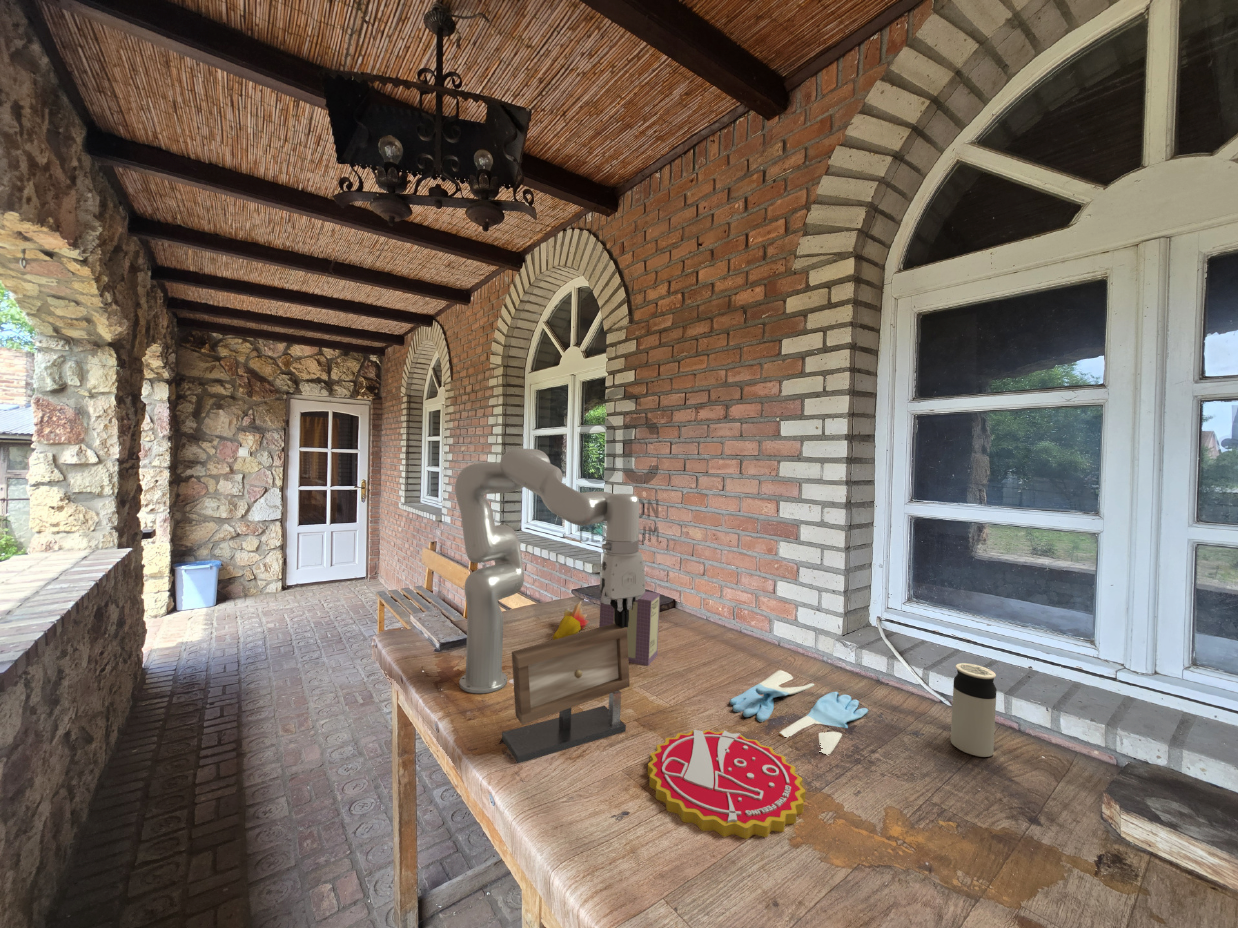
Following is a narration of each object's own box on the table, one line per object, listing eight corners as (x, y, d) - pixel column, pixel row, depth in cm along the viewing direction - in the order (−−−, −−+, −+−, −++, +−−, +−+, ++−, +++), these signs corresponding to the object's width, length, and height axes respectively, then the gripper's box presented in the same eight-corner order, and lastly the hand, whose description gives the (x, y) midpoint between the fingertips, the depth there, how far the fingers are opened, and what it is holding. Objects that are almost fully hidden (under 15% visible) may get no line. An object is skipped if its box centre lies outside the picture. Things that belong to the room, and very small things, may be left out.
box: (657, 655, 161) (659, 593, 161) (648, 665, 153) (650, 600, 152) (609, 645, 167) (611, 586, 167) (598, 655, 159) (600, 592, 159)
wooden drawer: (515, 715, 106) (511, 651, 105) (620, 679, 119) (617, 622, 118) (523, 726, 102) (519, 659, 101) (631, 687, 116) (628, 628, 115)
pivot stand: (501, 738, 111) (504, 666, 111) (604, 711, 124) (606, 647, 124) (517, 763, 102) (520, 685, 102) (625, 731, 116) (628, 662, 116)
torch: (552, 659, 164) (576, 625, 188) (573, 651, 162) (594, 617, 186) (541, 636, 164) (567, 605, 188) (561, 628, 162) (584, 597, 186)
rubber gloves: (875, 708, 133) (876, 684, 133) (827, 760, 109) (829, 730, 109) (777, 674, 152) (778, 653, 151) (718, 712, 128) (719, 686, 128)
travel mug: (980, 761, 109) (985, 679, 109) (943, 742, 116) (947, 665, 116) (1000, 753, 113) (1004, 673, 113) (962, 734, 120) (966, 660, 120)
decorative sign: (658, 719, 117) (793, 739, 111) (657, 730, 117) (792, 751, 111) (637, 806, 88) (818, 840, 82) (636, 822, 88) (818, 856, 82)
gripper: (602, 552, 109) (601, 636, 109) (658, 547, 117) (657, 625, 117) (586, 547, 116) (585, 627, 116) (639, 542, 123) (639, 617, 124)
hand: (621, 626), depth 116 cm, fingers closed
